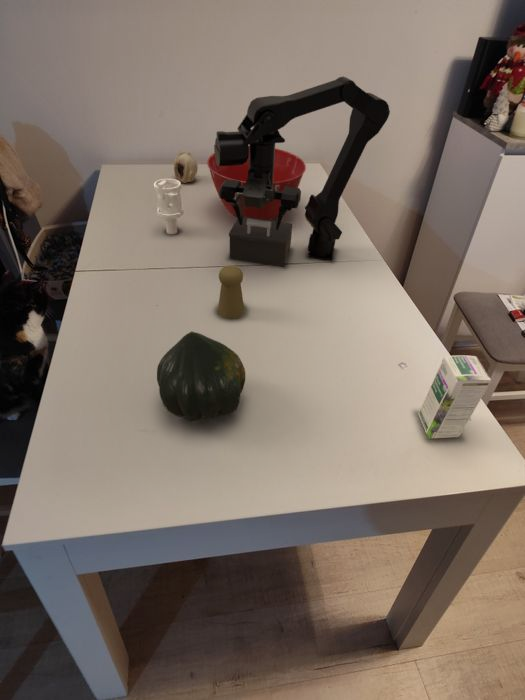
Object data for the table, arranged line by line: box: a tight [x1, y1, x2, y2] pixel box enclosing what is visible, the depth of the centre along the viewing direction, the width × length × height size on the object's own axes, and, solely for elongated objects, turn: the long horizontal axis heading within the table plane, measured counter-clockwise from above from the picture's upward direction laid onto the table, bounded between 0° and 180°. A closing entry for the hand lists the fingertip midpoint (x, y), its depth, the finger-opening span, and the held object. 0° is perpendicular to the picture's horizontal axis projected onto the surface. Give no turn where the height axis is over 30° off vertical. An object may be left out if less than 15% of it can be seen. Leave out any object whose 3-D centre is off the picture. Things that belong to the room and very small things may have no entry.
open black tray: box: [229, 227, 293, 268], centre depth 118 cm, size 10×15×7 cm, turn 78°
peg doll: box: [217, 264, 245, 320], centre depth 97 cm, size 6×6×11 cm
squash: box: [156, 330, 246, 423], centre depth 77 cm, size 14×15×15 cm
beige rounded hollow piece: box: [173, 150, 199, 184], centre depth 152 cm, size 9×8×10 cm
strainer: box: [153, 178, 184, 235], centre depth 122 cm, size 7×7×15 cm
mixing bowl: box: [206, 147, 307, 221], centre depth 133 cm, size 28×28×16 cm
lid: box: [228, 217, 293, 245], centre depth 113 cm, size 10×15×5 cm
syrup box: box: [417, 354, 492, 439], centre depth 74 cm, size 6×6×14 cm
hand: (259, 226), depth 111 cm, fingers open, 9 cm apart
